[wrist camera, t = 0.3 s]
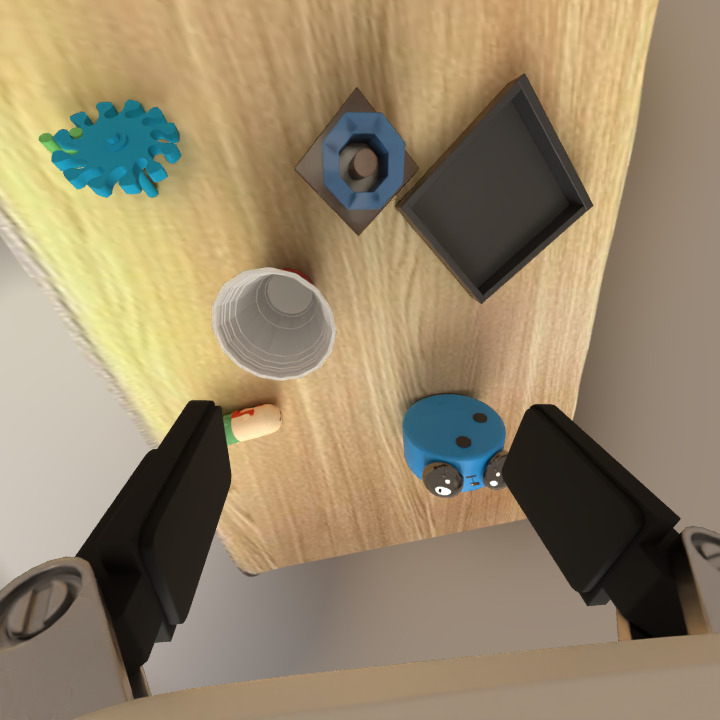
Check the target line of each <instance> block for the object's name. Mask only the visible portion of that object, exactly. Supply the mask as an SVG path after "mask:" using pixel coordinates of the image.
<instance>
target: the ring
mask: <svg viewBox="0 0 720 720" xmlns="http://www.w3.org/2000/svg"><path fill="white" fill-rule="evenodd" d="M349 143H367V145H368V146H369V147H370V148H371V149H372V151H373V152H374V153H375V154H376V156H377V157H378V158H379V174H378V180H377V181H376V182H375V183H374V184H373V185H372V187H371V188H370V189H369V190H368V191H367V192H354V191H353V190H352V189H351V188H350V187H349V186H348V184H347V183H346V182H345V181H344V180H343V179H342V178H341V177H340V166H339V155H340V154H341V152H342V151H343V150H344V149H345V147H346V146H347V145H348V144H349ZM404 157H405V142H404V141H403V140H402V138H401V137H400V136H399V134H398V133H397V132H396V130H395V129H394V128H393V126H392V125H391V124H390V123H389V121H388V120H387V119H386V117H385V116H384V115H383V113H381V112H345V114H344V115H343V116H342V117H341V119H340V120H339V121H338V123H337V124H336V125H335V126H334V128H333V129H332V130H331V132H330V133H329V134H328V136H327V137H326V138H325V139H324V141H323V142H322V158H323V176H324V186H325V187H326V188H327V189H328V190H329V191H330V192H331V193H332V194H333V196H334V197H335V198H336V199H337V200H338V201H339V202H340V203H341V204H342V205H343V206H344V207H345V208H347V209H349V210H361V209H380V208H381V207H382V206H383V205H384V204H385V203H386V202H387V201H388V200H389V198H390V197H391V196H392V195H393V194H394V193H395V192H396V191H397V189H398V188H399V187H400V186H401V185H402V184H403V176H404Z"/></svg>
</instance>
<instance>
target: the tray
mask: <svg viewBox="0 0 720 720" xmlns="http://www.w3.org/2000/svg"><path fill="white" fill-rule="evenodd" d="M592 206H593V204H592V202H591V200H590V198H589V196H588V194H587V192H586V190H585V188H584V186H583V184H582V182H581V181H580V179H579V177H578V175H577V173H576V171H575V169H574V167H573V165H572V163H571V161H570V159H569V157H568V155H567V154H566V152H565V150H564V148H563V146H562V144H561V142H560V140H559V138H558V136H557V134H556V132H555V130H554V128H553V127H552V125H551V123H550V121H549V119H548V117H547V115H546V113H545V111H544V109H543V107H542V105H541V103H540V101H539V100H538V98H537V96H536V94H535V92H534V90H533V88H532V86H531V84H530V82H529V80H528V78H527V76H526V74H525V73H524V74H522V75H521V76H519V77H518V78H516V79H514V80H513V81H511V82H509V83H508V84H507V85H506V86H505V87H504V88H503V89H502V90H501V92H500V93H499V94H498V95H497V96H496V97H495V98H494V99H493V100H492V101H491V103H490V104H489V105H488V106H487V107H486V108H485V109H484V110H483V111H482V112H481V113H480V115H479V116H478V117H477V118H476V119H475V120H474V121H473V122H472V123H471V124H470V126H469V127H468V128H467V129H466V130H465V131H464V132H463V133H462V134H461V135H460V136H459V138H458V139H457V140H456V141H455V142H454V143H453V144H452V145H451V146H450V147H449V148H448V150H447V151H446V152H445V153H444V154H443V155H442V156H441V157H440V158H439V159H438V161H437V162H436V163H435V164H434V165H433V166H432V167H431V168H430V169H429V170H428V171H427V173H426V174H425V175H424V176H423V177H422V178H421V179H420V180H419V181H418V182H417V184H416V185H415V186H414V187H413V188H412V189H411V190H410V191H409V192H408V193H407V194H406V196H405V197H404V198H403V199H402V200H401V201H400V202H399V203H398V204H397V205H396V209H397V210H398V211H399V212H400V213H401V215H402V216H403V217H404V218H405V219H406V220H407V222H408V223H409V224H410V225H411V226H412V227H413V229H414V230H415V231H416V232H417V233H418V235H419V236H420V237H421V238H422V239H423V240H424V242H425V243H426V244H427V245H428V246H429V248H430V249H431V250H432V251H433V252H434V253H435V255H436V256H437V257H438V258H439V259H440V260H441V262H442V263H443V264H444V265H445V266H446V268H447V269H448V270H449V271H450V272H451V273H452V275H453V276H454V277H455V278H456V279H457V281H458V282H459V283H460V284H461V285H462V286H463V288H464V289H465V290H466V291H467V292H468V293H469V295H470V296H471V297H472V298H473V299H475V300H476V301H478V302H479V303H481V304H482V303H483V302H484V301H486V299H488V298H489V297H490V296H491V295H492V294H493V293H495V292H496V291H497V290H498V289H499V288H500V287H501V286H503V285H504V284H505V283H506V282H507V281H508V280H509V279H510V278H512V277H513V276H514V275H515V274H516V273H517V272H518V271H520V270H521V269H522V268H523V267H524V266H525V265H526V264H527V263H529V262H530V261H531V260H532V259H533V258H534V257H535V256H537V255H538V254H539V253H540V252H541V251H542V250H543V249H545V248H546V247H547V246H548V245H549V244H550V243H551V242H552V241H554V240H555V239H556V238H557V237H558V236H559V235H560V234H562V233H563V232H564V231H565V230H566V229H567V228H568V227H569V226H571V225H572V224H573V223H574V222H575V221H576V220H577V219H579V218H580V217H581V216H582V215H583V214H584V213H585V212H586V211H588V210H589V209H590V208H591V207H592Z"/></svg>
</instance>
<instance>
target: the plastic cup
mask: <svg viewBox="0 0 720 720" xmlns="http://www.w3.org/2000/svg"><path fill="white" fill-rule="evenodd" d="M212 328H213V331H214V333H215V335H216V338H217V340H218V342H219V345H220V347H221V349H222V350H223V351H224V352H225V353H226V354H227V355H228V356H229V357H230V359H231V360H232V361H233V362H234V363H235V364H236V365H237V366H239V367H241V368H243V369H244V370H246V371H248V372H250V373H252V374H254V375H255V376H257V377H262V378H267V379H273V380H278V381H282V380H290V379H297V378H302V377H304V376H306V375H307V374H309V373H311V372H313V371H315V370H317V369H319V368H320V367H321V365H322V364H323V363H324V362H325V360H326V359H327V358H328V356H329V355H330V354H331V353H332V349H333V345H334V341H335V337H336V333H337V331H336V326H335V321H334V316H333V311H332V309H331V307H330V306H329V304H328V303H327V301H326V300H325V298H324V297H323V295H322V294H321V292H320V291H319V289H318V288H317V287H315V286H314V285H313V283H312V282H311V280H310V279H309V278H308V276H306V275H305V274H304V273H302V272H301V271H299V270H296V269H291V268H284V269H276V268H272V267H266V268H260V269H253V270H247V271H243V272H241V273H240V274H238V275H237V276H235V277H234V278H232V279H231V280H229V281H228V282H226V283H225V284H223V286H222V288H221V290H220V292H219V294H218V295H217V297H216V299H215V301H214V303H213V306H212Z"/></svg>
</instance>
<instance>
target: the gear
mask: <svg viewBox="0 0 720 720" xmlns="http://www.w3.org/2000/svg"><path fill="white" fill-rule="evenodd" d="M96 107H97V109H98V111H99V118H98V120H97V122H96V124H93V123H92V121H91V120H90V119H89V117H88V116H87V115H86V113H85V112H79V113H76V114H74V115H72V116H70V119H71V121H72V122H73V123H74V124H75V126H76V128H73V129H71V130H70V132H68V131H67V130H65V129H61V130H60V131H58V132H57V133H56V134H55V135H54V137H53V136H52V135H51V134H49V133H45V134H42V135H41V136H40V137H39V141H40V142H41V143H42V144H43V145H44V146H45V147H46V148H47V149H48V150H49V151H50V152H51V153H52V162H53V163H54V164H55V165H56V166H57V167H58V168H59V169H60V170H61V171H63V174H64V176H65V178H66V179H67V180H68V181H69V182H70V183H71V184H72V185H73V186H74V187H75V188H76V189H81V188H83V187H85V186H86V185H88V186H89V187H90V188H91V189H92V190H93V191H94V192H95V193H96V194H97V195H99V196H102V197H106V198H107V197H109V196H110V195H111V194H112V190H113V187H114V185H115V184H116V182H117V181H118V180H119V182H118V183H119V185H120V186H121V188H122V189H123V190H124V191H125V192H126V194H137V193H141V191H142V188H143V190H144V191H145V192H146V194H147V195H148V196H149V197H156V196H157V195H158V191H157V189H156V188H155V187H154V185H153V184H152V182H151V181H150V179H149V178H148V177H147V175H146V174H145V172H144V171H143V170H142V169H143V168H145V167H146V172H147V173H148V175H149V176H150V177H151V179H152V180H153V181H154V182H159V181H162V180H163V179H165V178H167V177H168V175H167V173H166V171H165V170H164V168H163V166H162V165H161V164H160V163H158V162H156V161H154V160H153V158H154V156H155V155H157V154H163V155H164V156H165V158H166V160H167V161H168V162H169V163H176V162H177V161H178V160H179V158H180V157H181V153H180V151H179V149H178V147H177V146H176V145H175V144H174V143H178V142H179V140H180V135H179V132H178V130H177V128H176V126H175V124H174V123H167V121H166V119H165V117H164V115H163V113H162V111H161V110H160V109H159V108H158V107H153V108H151V109H150V110H149V111H148V112H147V113H145V111H144V109H143V107H142V106H141V104H140V103H139V102H137V101H134V100H130V99H129V100H127V101H126V102H125V105H124V108H123V110H122V111H121V112H120V113H118V112H117V110H116V109H115V107H114V106H113V104H112V103H111V102H100V103H98V104H97V105H96ZM159 139H165V140H167V141H168V142H170V143H163V142H159V141H157V140H159ZM79 167H84V168H81V169H77V168H79Z"/></svg>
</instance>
